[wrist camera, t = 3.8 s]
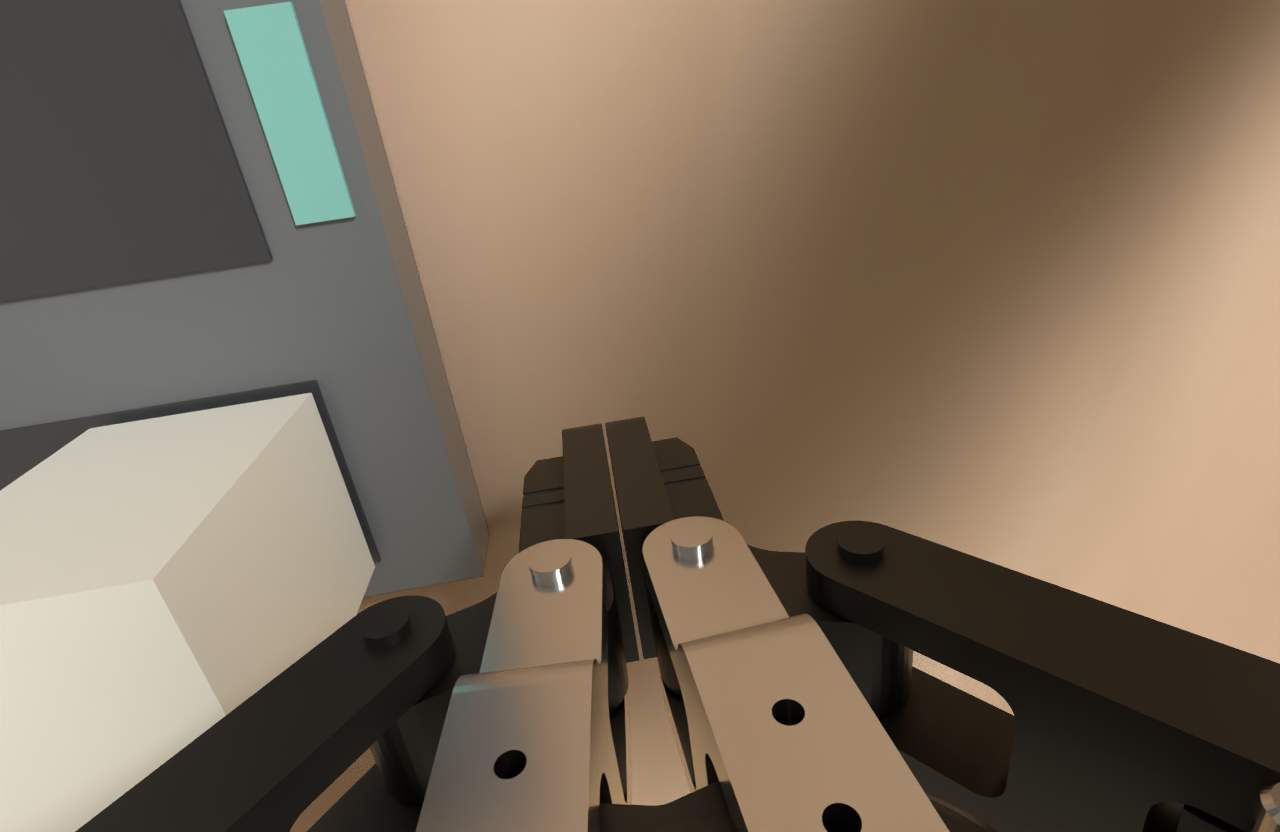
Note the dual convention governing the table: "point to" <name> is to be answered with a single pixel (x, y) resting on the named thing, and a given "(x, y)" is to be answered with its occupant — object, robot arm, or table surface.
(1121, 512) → the table surface
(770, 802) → the robot arm
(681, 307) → the table surface
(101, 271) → the switch bank
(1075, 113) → the table surface
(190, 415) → the tab
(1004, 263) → the table surface
